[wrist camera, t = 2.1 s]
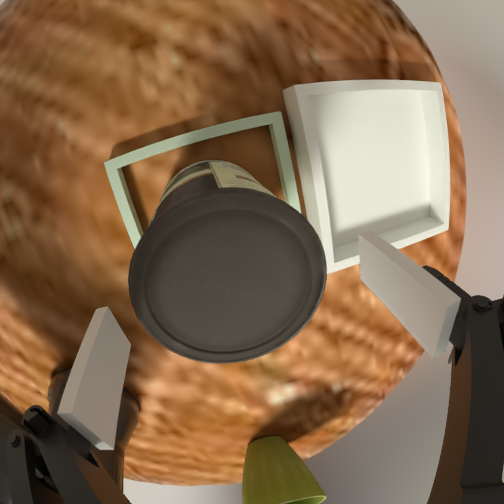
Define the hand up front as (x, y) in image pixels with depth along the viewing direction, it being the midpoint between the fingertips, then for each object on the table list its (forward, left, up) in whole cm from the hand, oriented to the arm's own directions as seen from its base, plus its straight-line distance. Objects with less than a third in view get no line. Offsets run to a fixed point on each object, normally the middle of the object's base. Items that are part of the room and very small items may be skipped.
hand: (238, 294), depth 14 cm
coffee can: (0, 0, -15) cm, 15 cm away
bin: (+18, +1, -15) cm, 23 cm away
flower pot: (-4, -47, -15) cm, 50 cm away
